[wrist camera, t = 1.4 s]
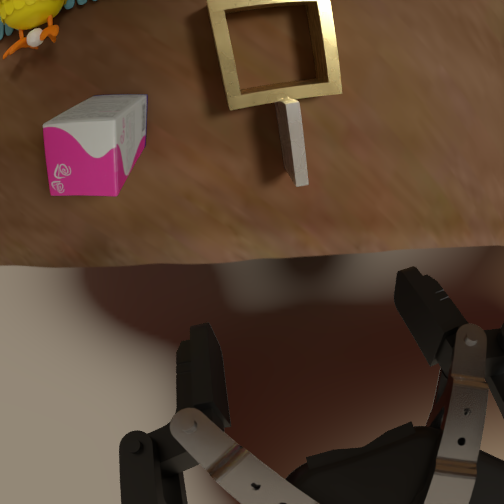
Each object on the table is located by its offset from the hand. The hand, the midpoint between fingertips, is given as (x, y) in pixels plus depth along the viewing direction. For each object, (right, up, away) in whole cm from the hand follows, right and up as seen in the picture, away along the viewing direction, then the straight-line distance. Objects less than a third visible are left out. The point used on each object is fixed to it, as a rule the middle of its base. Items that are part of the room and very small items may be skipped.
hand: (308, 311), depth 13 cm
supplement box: (-15, +15, +15) cm, 27 cm away
